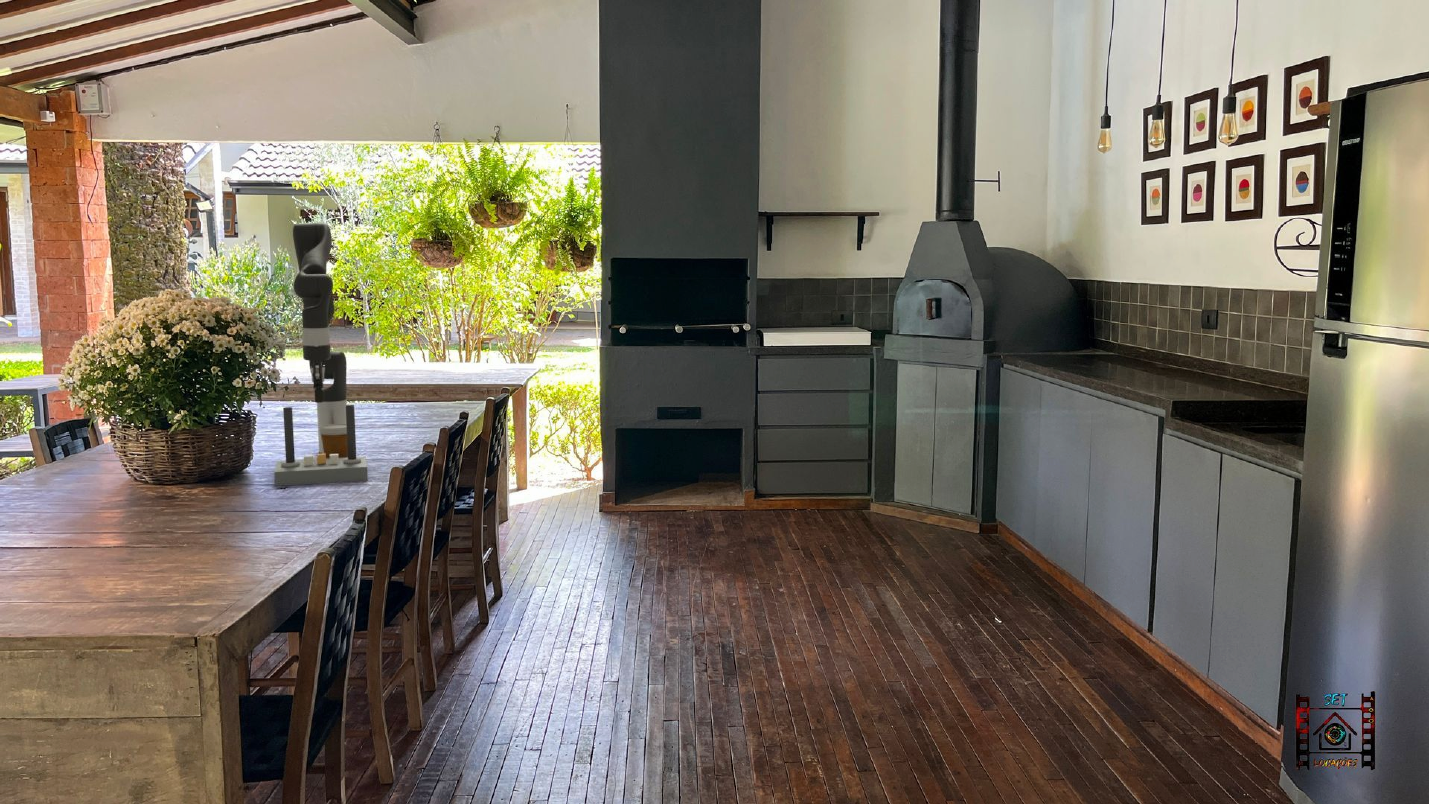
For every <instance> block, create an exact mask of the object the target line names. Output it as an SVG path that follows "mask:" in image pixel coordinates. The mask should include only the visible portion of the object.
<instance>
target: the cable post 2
mask: <svg viewBox="0 0 1429 804" xmlns="http://www.w3.org/2000/svg"><path fill="white" fill-rule="evenodd" d="M355 412H356V411H355V405H354V404H347V405H346V426H347V450H348V458H345V459H343V463H345V464H357V463H360V462H361V458H358V457H359V456H357V439H356V438H357V437H356V435H357V434H356V417H355V414H356V413H355Z"/></svg>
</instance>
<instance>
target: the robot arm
mask: <svg viewBox="0 0 1429 804" xmlns="http://www.w3.org/2000/svg"><path fill="white" fill-rule="evenodd" d="M292 238H293V244H294V245H293V246H294V250H295V256H296V260H297V265H298V270H299V272H298V273H297V275H296V276H295V278H294V282H293V290H294V293H295V295H296V296H297V297H298V298H300V299H302V306H303V309H302V312H301V317H302V334H301V335H302V336H301V337H302V338H301V342H302V357H303V360H305V361H309V370H310V374H311V382H312V383H313V386H312V387H313V390H314V401H315V403H316V415H317V417H316V418H317V433H318V434H317V437H318V452H319V454H324V449H323V443H322V437H321V434H320V432H319V430H320V427H321V426H323V425H328V424H346V405H348V404H347V403H348V402H347V390H348V389H347V387H348V386H347V370H348V369H347V365H348V364H347V357H346V354H345V353H344V352H343V351H341V350H331V336H330V330H329V325H330V324H331V322H332V320H333V317H334V315H335V310H336V309H335V302H334V301H335V300H334V293H333V290H334V282H333V279H332V278H331V276H330V275H328V274H327V264H328V263H327V262H328V259H329V257H330V253H331V250H332V245H333V244H332V243H333V241H332V233H331V229H330V226H329V225H328V223H325V222H305V223H304V222H300V223H295V224H294V225H293V227H292ZM325 380H333V383H332V384H331V385H330V386H328V387H326V388H324V382H325Z"/></svg>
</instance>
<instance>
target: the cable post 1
mask: <svg viewBox="0 0 1429 804" xmlns="http://www.w3.org/2000/svg"><path fill="white" fill-rule="evenodd" d="M282 410H283V411H282V413H283V428H284V448H285V460H283V461H284V462H281V467H297V466H300V461H295V460H296V458H295V441H294V440H295V438H294V437H295V436H294V419H293V418H294V415H293V407H292V406H291V407H289V406H287V407H286V406H285V407H283V408H282Z"/></svg>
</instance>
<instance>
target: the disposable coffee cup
mask: <svg viewBox="0 0 1429 804" xmlns="http://www.w3.org/2000/svg"><path fill="white" fill-rule="evenodd" d="M319 432H320V434H321V437H322V443H323V449H324V453H323V454H325V453H326V459H327V458H330V454H338V457H339V458H346V457H348V450H347V426H346V424H328V425H323V426H321V427H320V430H319Z"/></svg>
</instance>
